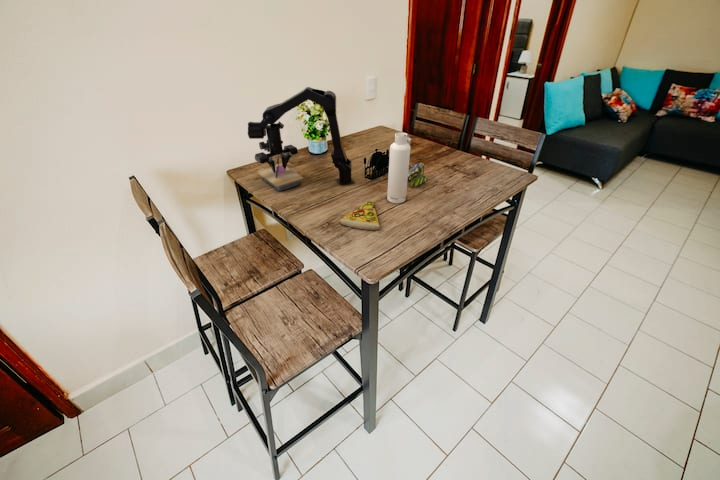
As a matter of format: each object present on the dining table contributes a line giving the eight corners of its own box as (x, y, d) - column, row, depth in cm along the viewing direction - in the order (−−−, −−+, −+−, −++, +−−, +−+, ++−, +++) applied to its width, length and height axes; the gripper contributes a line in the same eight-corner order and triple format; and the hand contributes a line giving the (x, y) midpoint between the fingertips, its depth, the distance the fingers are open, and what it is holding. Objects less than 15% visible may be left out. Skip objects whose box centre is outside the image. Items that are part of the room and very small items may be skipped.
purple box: (276, 156, 155) (276, 164, 148) (287, 158, 157) (288, 166, 150) (274, 169, 159) (273, 177, 152) (285, 171, 160) (285, 180, 153)
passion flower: (407, 190, 163) (407, 165, 163) (429, 189, 159) (430, 164, 159) (402, 186, 152) (402, 160, 152) (426, 185, 149) (426, 158, 149)
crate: (298, 184, 156) (298, 178, 154) (279, 191, 150) (278, 185, 149) (281, 173, 165) (280, 167, 164) (263, 179, 160) (262, 173, 158)
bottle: (383, 195, 147) (387, 132, 131) (400, 192, 150) (405, 129, 133) (391, 204, 141) (396, 139, 125) (409, 201, 143) (415, 136, 127)
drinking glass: (411, 158, 181) (413, 140, 175) (400, 160, 179) (401, 141, 173) (405, 153, 186) (407, 136, 180) (394, 155, 184) (396, 137, 178)
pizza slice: (338, 226, 128) (338, 219, 126) (354, 200, 144) (354, 194, 142) (378, 232, 124) (378, 225, 123) (389, 205, 141) (390, 199, 139)
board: (303, 179, 153) (303, 177, 153) (278, 187, 147) (277, 185, 146) (281, 165, 166) (281, 163, 165) (257, 172, 159) (256, 170, 158)
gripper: (283, 129, 155) (288, 161, 165) (246, 138, 146) (252, 171, 155) (296, 135, 149) (300, 168, 158) (257, 145, 139) (264, 179, 148)
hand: (279, 171), depth 155 cm, fingers closed on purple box, 4 cm apart
